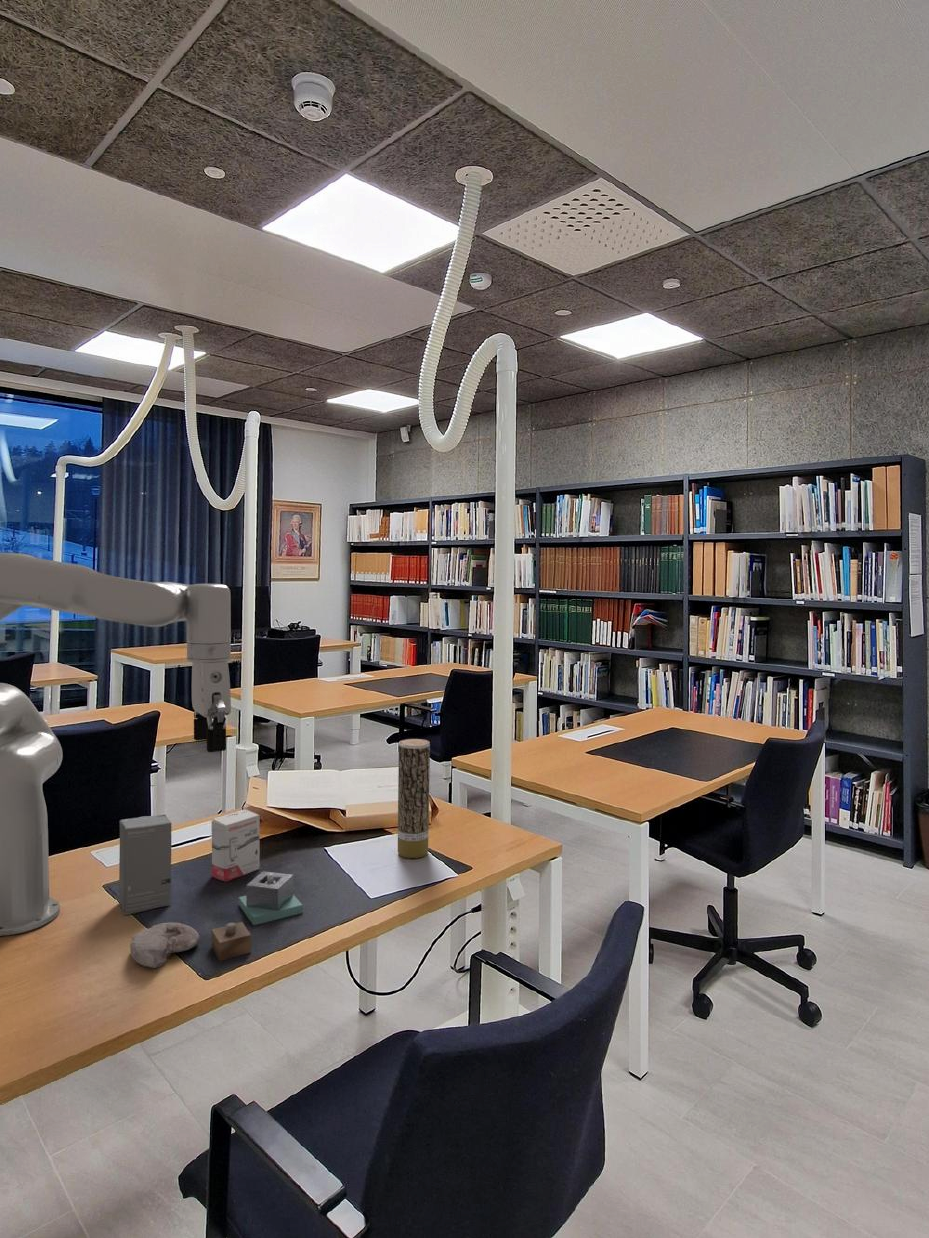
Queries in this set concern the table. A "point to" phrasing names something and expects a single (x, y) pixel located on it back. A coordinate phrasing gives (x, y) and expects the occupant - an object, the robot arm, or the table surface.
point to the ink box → (235, 845)
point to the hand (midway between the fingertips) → (209, 745)
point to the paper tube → (413, 798)
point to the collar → (269, 891)
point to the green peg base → (268, 915)
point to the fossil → (162, 943)
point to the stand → (231, 941)
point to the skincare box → (145, 863)
